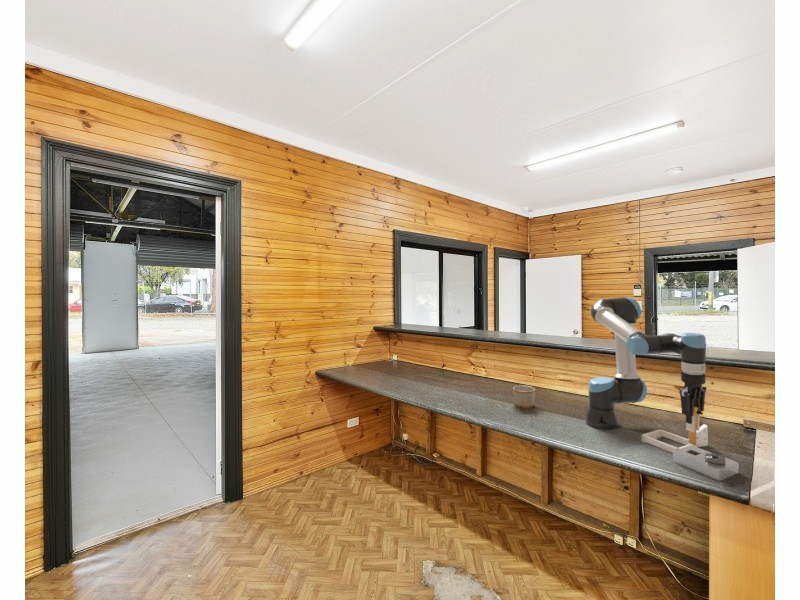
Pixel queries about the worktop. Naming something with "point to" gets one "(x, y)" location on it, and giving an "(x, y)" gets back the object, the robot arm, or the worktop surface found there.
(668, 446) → the tray
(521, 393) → the planter
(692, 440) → the lock pin
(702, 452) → the block
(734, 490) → the worktop surface
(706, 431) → the white wedge bracket
